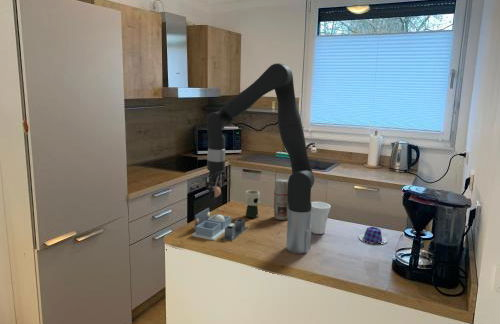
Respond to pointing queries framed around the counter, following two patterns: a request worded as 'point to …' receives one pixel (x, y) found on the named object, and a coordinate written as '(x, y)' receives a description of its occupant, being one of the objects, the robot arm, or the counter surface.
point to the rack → (212, 228)
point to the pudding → (373, 235)
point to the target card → (201, 217)
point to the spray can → (281, 200)
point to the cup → (319, 216)
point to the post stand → (234, 230)
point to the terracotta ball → (217, 191)
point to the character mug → (252, 203)
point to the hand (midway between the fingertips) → (214, 197)
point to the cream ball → (219, 218)
